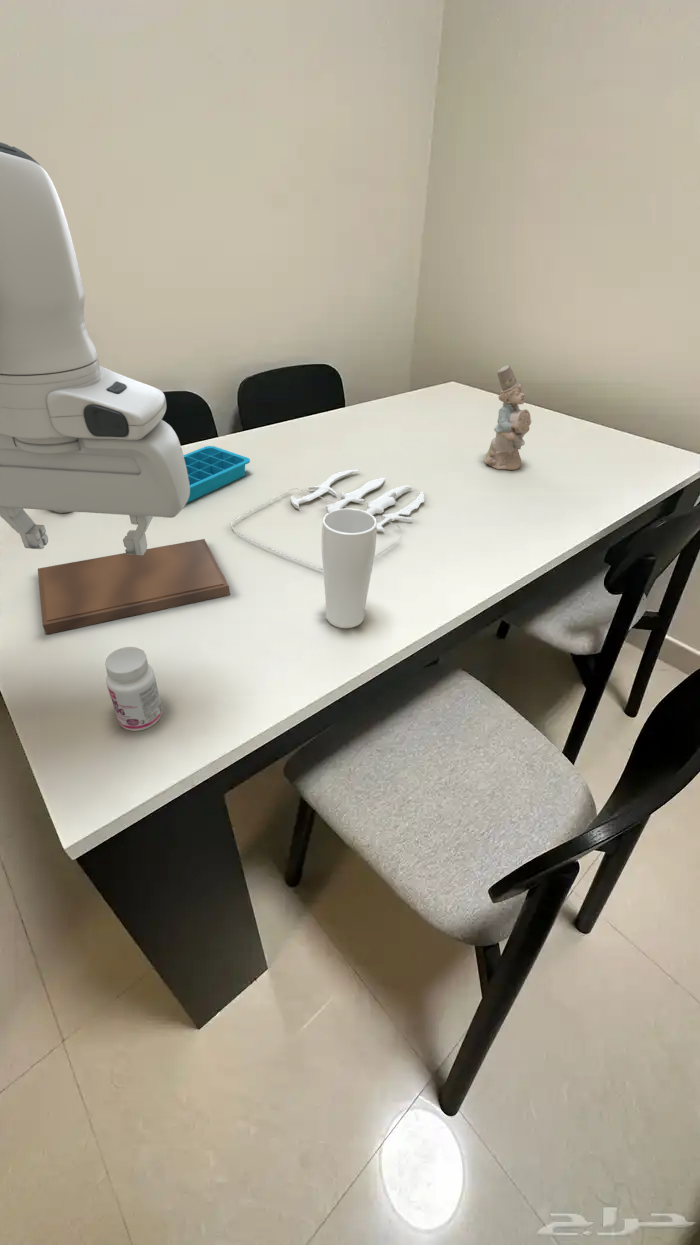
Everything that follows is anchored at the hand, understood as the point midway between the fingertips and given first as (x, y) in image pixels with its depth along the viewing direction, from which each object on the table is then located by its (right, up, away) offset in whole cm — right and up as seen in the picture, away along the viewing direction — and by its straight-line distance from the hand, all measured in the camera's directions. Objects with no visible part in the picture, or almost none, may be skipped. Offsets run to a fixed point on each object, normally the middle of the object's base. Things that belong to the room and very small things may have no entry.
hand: (87, 548), depth 55 cm
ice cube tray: (-5, +20, +56) cm, 60 cm away
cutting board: (-6, -2, +29) cm, 29 cm away
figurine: (+57, +27, +70) cm, 95 cm away
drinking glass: (+24, -6, +25) cm, 35 cm away
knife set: (+23, +12, +48) cm, 55 cm away
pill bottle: (+2, -17, +10) cm, 20 cm away
